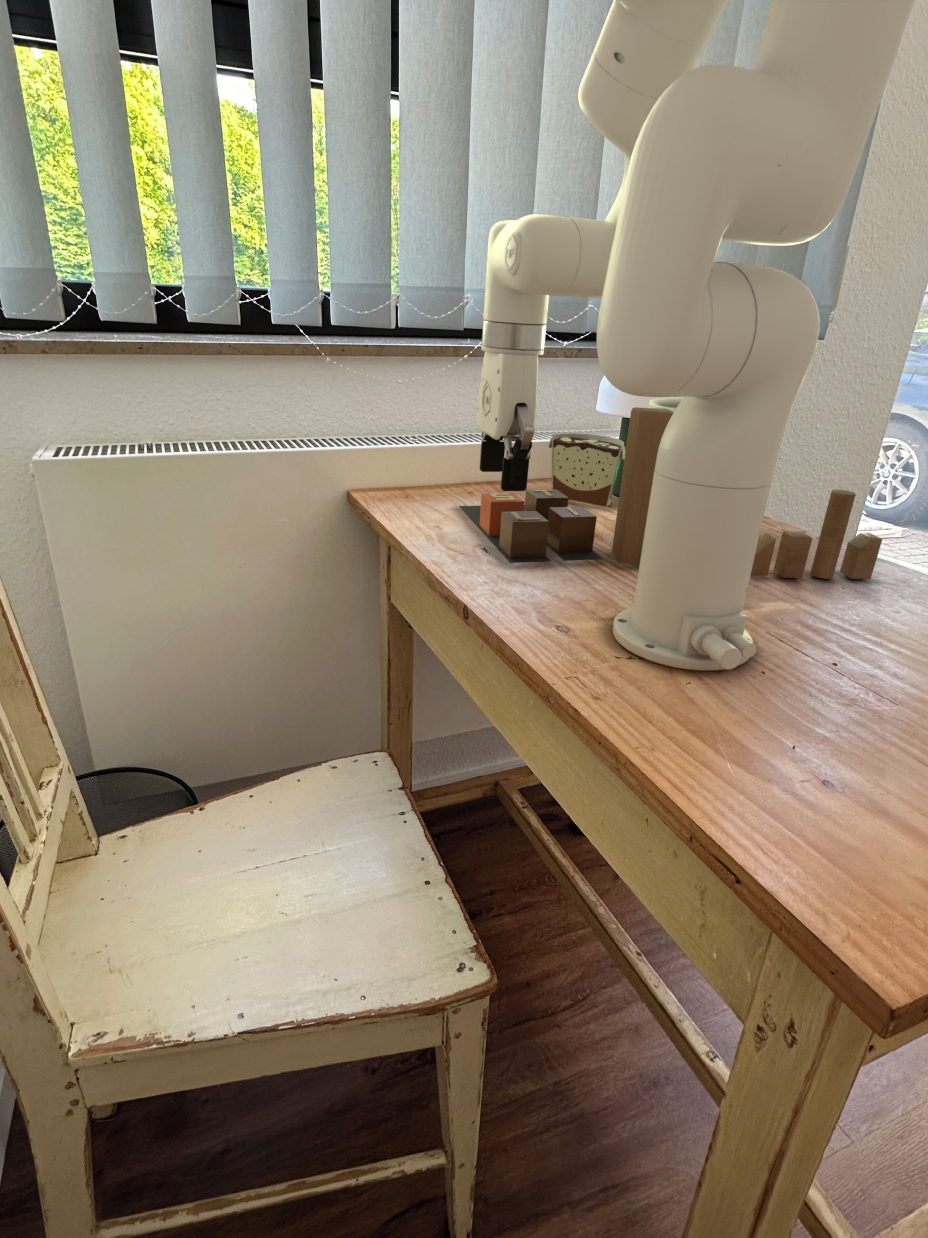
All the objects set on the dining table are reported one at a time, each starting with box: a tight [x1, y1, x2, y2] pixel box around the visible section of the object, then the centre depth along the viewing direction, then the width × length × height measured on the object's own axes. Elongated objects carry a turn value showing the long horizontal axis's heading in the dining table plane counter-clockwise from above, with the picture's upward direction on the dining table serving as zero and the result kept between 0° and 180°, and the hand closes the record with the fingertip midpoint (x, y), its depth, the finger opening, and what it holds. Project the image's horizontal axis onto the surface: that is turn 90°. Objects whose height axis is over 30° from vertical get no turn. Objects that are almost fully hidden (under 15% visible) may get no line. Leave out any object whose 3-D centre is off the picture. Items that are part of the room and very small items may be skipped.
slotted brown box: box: [547, 506, 598, 553], centre depth 89 cm, size 4×4×5 cm
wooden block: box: [611, 406, 674, 565], centre depth 84 cm, size 9×4×18 cm, turn 90°
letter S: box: [480, 492, 525, 536], centre depth 94 cm, size 4×4×5 cm
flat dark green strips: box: [458, 504, 604, 564], centre depth 96 cm, size 25×12×1 cm, turn 14°
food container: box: [547, 432, 626, 508], centre depth 112 cm, size 12×6×10 cm, turn 58°
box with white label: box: [499, 511, 549, 559], centre depth 86 cm, size 4×4×5 cm
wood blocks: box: [750, 489, 883, 580], centre depth 83 cm, size 25×3×10 cm, turn 95°
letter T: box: [524, 488, 569, 520], centre depth 97 cm, size 4×4×5 cm
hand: (501, 480), depth 93 cm, fingers open, 9 cm apart
